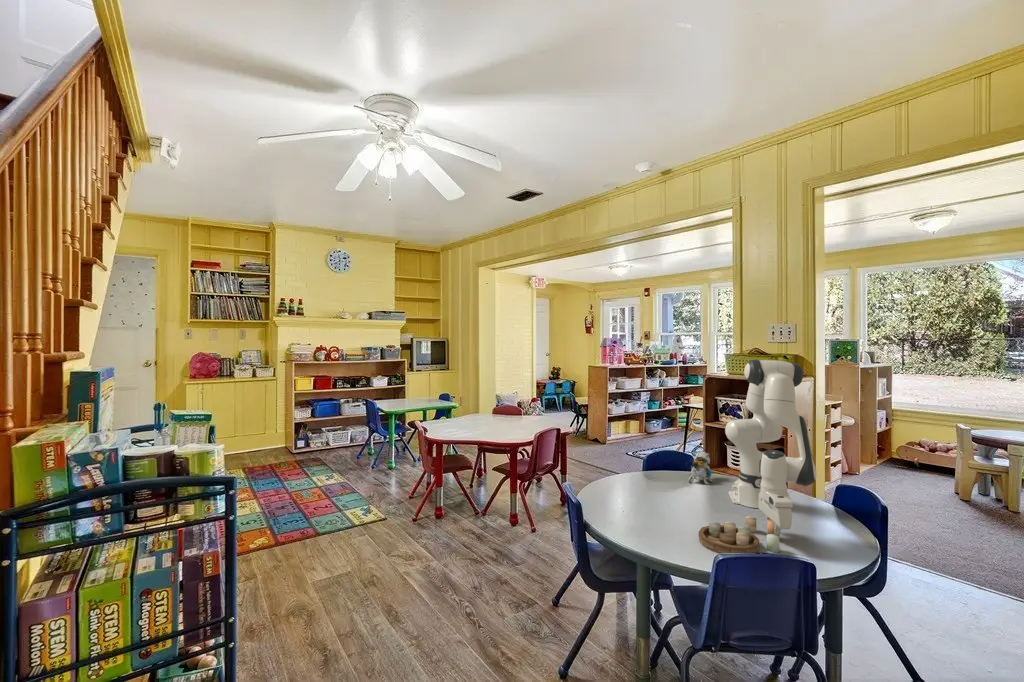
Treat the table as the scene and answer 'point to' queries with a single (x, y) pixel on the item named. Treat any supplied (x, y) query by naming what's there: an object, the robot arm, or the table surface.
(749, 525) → the tan egg
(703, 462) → the robotic toy
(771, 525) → the orange egg
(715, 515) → the table surface
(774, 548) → the sage green egg
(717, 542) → the groove tray
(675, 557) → the table surface
